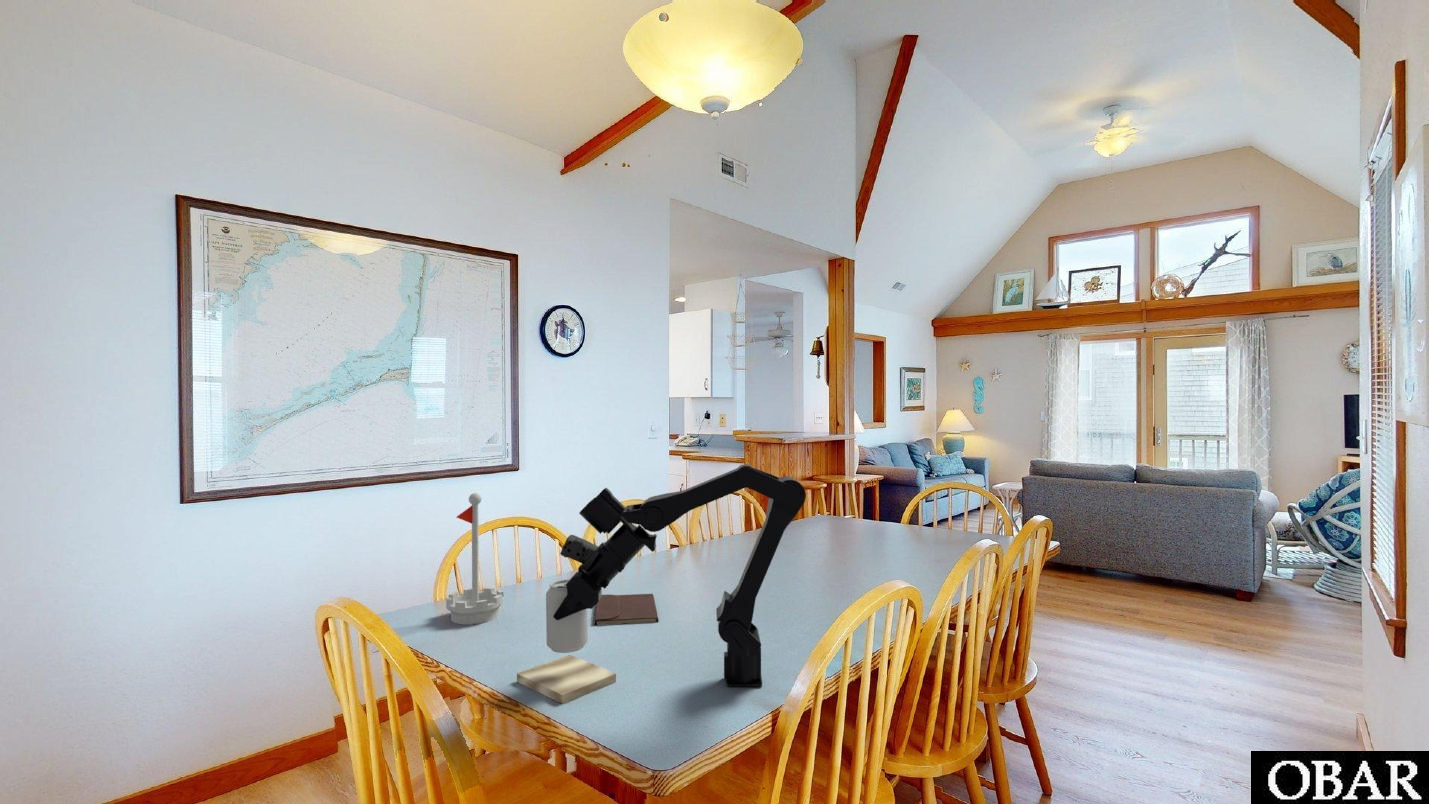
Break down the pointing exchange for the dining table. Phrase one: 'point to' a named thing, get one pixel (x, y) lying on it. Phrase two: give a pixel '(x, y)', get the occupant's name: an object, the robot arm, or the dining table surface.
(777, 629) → the dining table surface
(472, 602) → the flag stand
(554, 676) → the board
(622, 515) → the robot arm
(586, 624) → the can
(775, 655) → the dining table surface
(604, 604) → the notebook
